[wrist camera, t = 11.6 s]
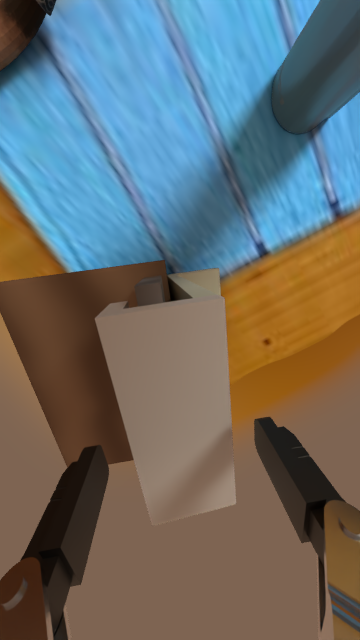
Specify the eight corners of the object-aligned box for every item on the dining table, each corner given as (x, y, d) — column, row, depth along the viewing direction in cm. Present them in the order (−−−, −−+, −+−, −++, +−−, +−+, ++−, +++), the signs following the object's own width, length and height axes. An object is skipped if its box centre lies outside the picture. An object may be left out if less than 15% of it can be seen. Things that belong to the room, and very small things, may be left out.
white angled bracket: (214, 268, 28) (346, 278, 9) (220, 352, 32) (318, 482, 13) (135, 279, 27) (94, 318, 8) (152, 365, 31) (152, 526, 12)
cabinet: (163, 260, 32) (165, 259, 8) (177, 354, 38) (202, 514, 14) (93, 270, 32) (-117, 296, 8) (117, 364, 37) (35, 545, 13)
